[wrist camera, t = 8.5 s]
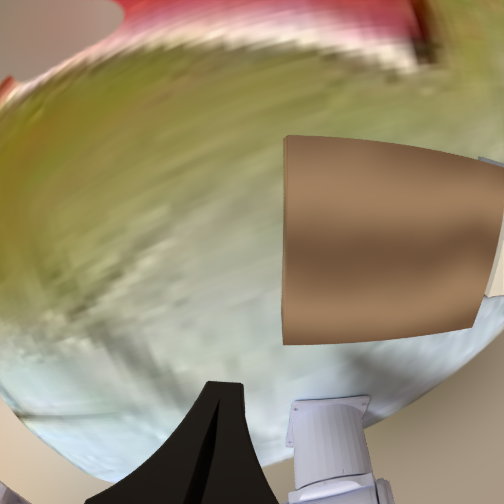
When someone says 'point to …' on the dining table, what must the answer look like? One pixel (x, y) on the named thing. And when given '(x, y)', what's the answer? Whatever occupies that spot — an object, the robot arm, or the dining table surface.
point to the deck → (384, 240)
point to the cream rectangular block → (497, 269)
